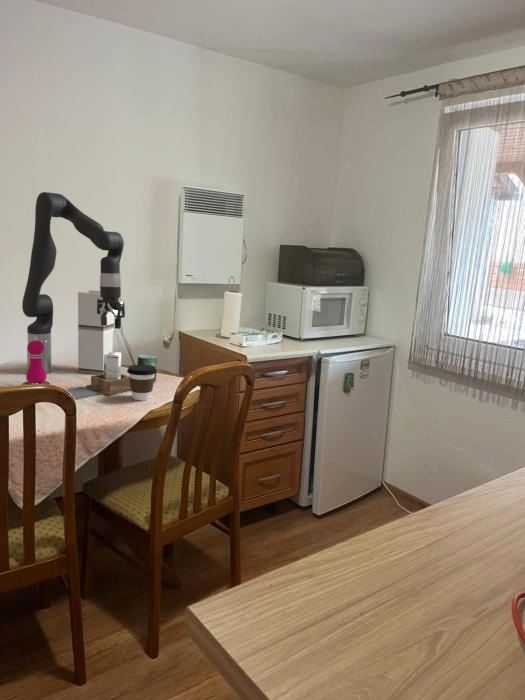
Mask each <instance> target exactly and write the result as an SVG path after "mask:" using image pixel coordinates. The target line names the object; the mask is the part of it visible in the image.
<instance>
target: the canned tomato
mask: <svg viewBox="0 0 525 700" xmlns="http://www.w3.org/2000/svg"><path fill="white" fill-rule="evenodd" d="M157 358H158V356H157V355H156V354H152V353H143V354H142V353H141V354H137V365H151V366H154V367H156V368H157V362H158V361H157V360H158V359H157ZM154 382H155V383H156V382H157V373H155V378H154Z"/></svg>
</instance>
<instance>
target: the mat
mask: <svg viewBox="0 0 525 700" xmlns="http://www.w3.org/2000/svg"><path fill="white" fill-rule="evenodd" d="M67 390H68V392H70V393H71V394H72V396H73V397H74V398H75V400H74V401H76V400H79V399H84V398H89V397H94V396H98V395H100V394H101V393H99V392H96V391H93V390H90V389H87V388H86V387H83V386H79V387H74V388H70V389H67Z"/></svg>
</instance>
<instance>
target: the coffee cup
mask: <svg viewBox="0 0 525 700" xmlns="http://www.w3.org/2000/svg"><path fill="white" fill-rule="evenodd" d="M126 372H127V373H128V376H129V380H130V387H131V391H130V392H131V396H132V399H133V400H134V399H135V400H134V401H138V400H145V401H148V400H147V399H149V400H150V399H151V396H152V391H153V389H154V384H155V383H154V378H155V373H156V374H157V372H158V369H157V366H156V367H154V366H151V365H138V364H134V365H133V364H132V365H129V366H128V368H127V370H126Z"/></svg>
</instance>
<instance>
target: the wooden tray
mask: <svg viewBox="0 0 525 700" xmlns="http://www.w3.org/2000/svg"><path fill="white" fill-rule="evenodd" d="M85 388H87V389H90V390H93V391H96V392H99V393H100V394H102V395H104V396H108V397H111V396H112V395H113V396H116V395H115V394H117V395H120V394H119V393H121V394H124V393H123V392H125V393H128V392H127V391H129V392H132V391H131V387H130V380H129V375H127V374H124V373H121V379H118V380H113V381H109V380H106V379H104V374H100V375H98V374H94V375H91V376H90V384H88V385H86V386H85Z"/></svg>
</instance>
